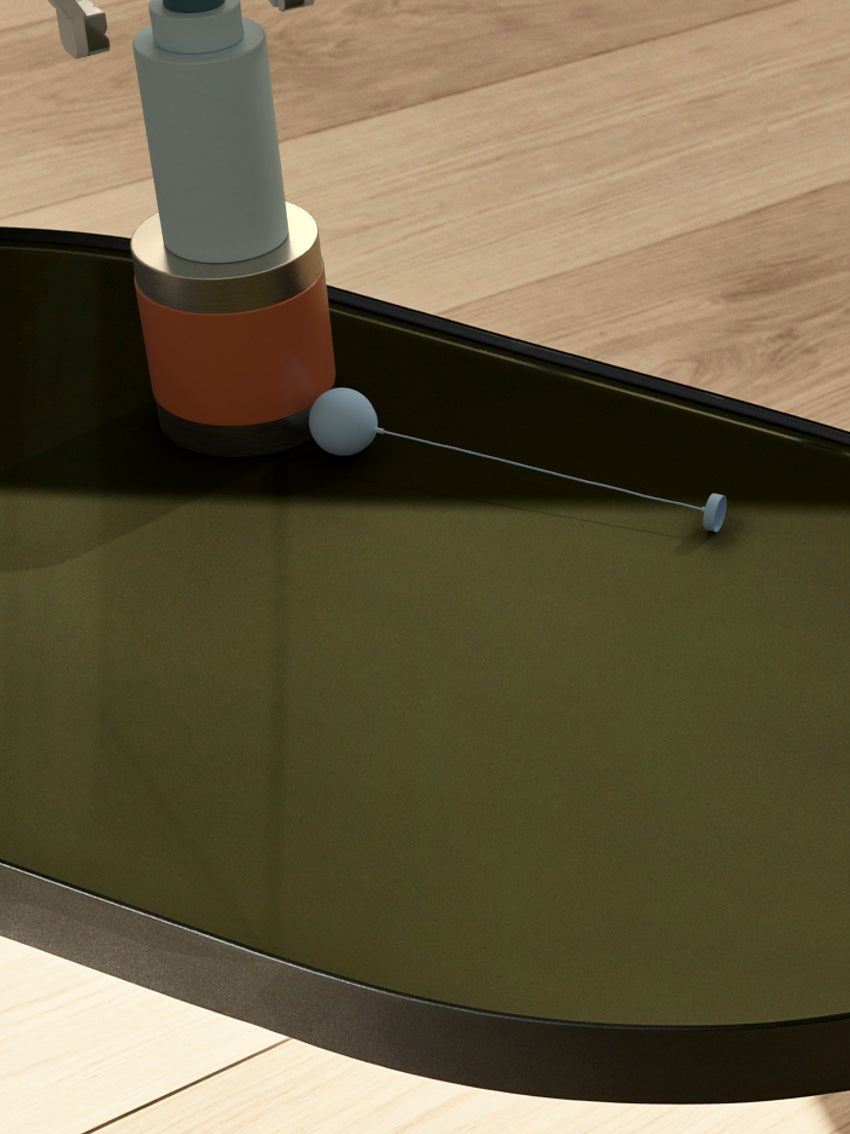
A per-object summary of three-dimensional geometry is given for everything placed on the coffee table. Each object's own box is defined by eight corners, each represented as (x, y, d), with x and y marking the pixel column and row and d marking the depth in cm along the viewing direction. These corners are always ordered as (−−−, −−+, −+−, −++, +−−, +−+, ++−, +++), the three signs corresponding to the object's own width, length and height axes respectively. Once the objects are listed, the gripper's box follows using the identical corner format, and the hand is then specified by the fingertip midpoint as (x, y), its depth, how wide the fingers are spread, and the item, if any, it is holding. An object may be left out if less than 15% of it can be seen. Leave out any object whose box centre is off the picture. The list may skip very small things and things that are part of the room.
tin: (128, 400, 110) (97, 224, 105) (289, 350, 114) (267, 178, 108) (205, 478, 105) (177, 297, 99) (371, 423, 108) (353, 245, 103)
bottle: (142, 228, 104) (97, -53, 96) (254, 197, 106) (219, -80, 98) (195, 275, 101) (153, -12, 92) (310, 242, 103) (278, -41, 95)
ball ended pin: (703, 553, 100) (715, 484, 99) (293, 451, 105) (301, 384, 104) (724, 542, 103) (737, 475, 102) (324, 443, 108) (332, 378, 107)
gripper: (348, -383, 95) (372, -43, 104) (-138, -311, 86) (-65, 53, 95) (424, -350, 91) (442, 1, 100) (-78, -270, 82) (-8, 106, 91)
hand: (191, 28), depth 97 cm, fingers open, 8 cm apart
